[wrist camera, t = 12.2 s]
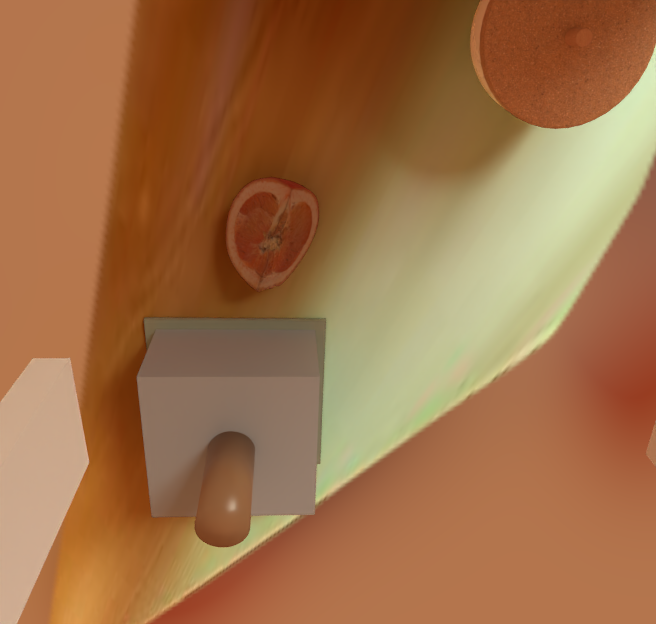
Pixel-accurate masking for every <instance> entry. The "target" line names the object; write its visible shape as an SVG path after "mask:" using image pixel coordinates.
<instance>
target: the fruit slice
mask: <svg viewBox="0 0 656 624" xmlns="http://www.w3.org/2000/svg"><path fill="white" fill-rule="evenodd" d="M318 221H319V206H318V201H317V198H316V196H315V195H314V194H313V193H312V192H311V191H310V190H308V189H307V188H305V187H303V186H302V185H300V184H297V183H295V182H293V181H289V180H285V179H280V178H274V177H269V178H260V179H256V180H253V181H252V182H250V183H249V184H247V185H246V186H244V187H243V188H242V189H241V190H240V192H239V193H238V195H237V196H236V197H235V199H234V200H233V203H232V205H231V208H230V211H229V214H228V219H227V225H226V246H227V251H228V255H229V257H230V259H231V262H232V264H233V266H234V267H235V269H236V270H237V272H238V273H239V274H240V276H241V277H242V278H243V279H244V280H245V281H246V282H247V284H249V285H250V286H251V287H252V288H254V289H255V290H256V291H257V292H259V291H262V290H266V289H268V288H269V289H271V288H273V287H274V286H280V285H281V284H282V283H283V282H284V281H285V280H286V279H287V278H288V277H289V276H290V274H291V273H292V272H293V271H294V270H295V268H296V267H297V265H298V264H299V263H300V261H301V260H302V258H303V257H304V255H305V253H306V252H307V250H308V248H309V246H310V244H311V242H312V240H313V237H314V235H315V232H316V229H317V226H318Z"/></svg>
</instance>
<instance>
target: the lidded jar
mask: <svg viewBox="0 0 656 624" xmlns="http://www.w3.org/2000/svg"><path fill="white" fill-rule="evenodd" d="M655 44H656V0H481V1H480V3H479V5H478V7H477V9H476V12H475V16H474V19H473V23H472V28H471V36H470V49H471V58H472V62H473V66H474V69H475V72H476V74H477V77H478V79H479V81H480V83H481V85H482V86H483V88H484V89H485V91H486V92H487V93H488V94H489V95H490V96H491V97H492V99H493V100H494V101H495V102H496V103H497V104H499V105H500V106H501V107H503V108H504V109H505V110H507V111H508V112H510V113H511V114H512V115H514V116H515V117H517V118H519V119H521V120H523V121H525V122H527V123H529V124H532V125H536V126H539V127H543V128H554V129H558V128H570V127H574V126H578V125H582V124H585V123H587V122H590V121H592V120H595V119H596V118H598V117H600V116H602V115H603V114H605V113H607V112H608V111H609V110H611V109H612V108H613V107H615V106H616V105H617V104H619V103H620V102H621V101H622V100H623V99H624V98H625V97H626V96H627V95H628V94H629V93H630V91H631V90H632V89H633V87H634V86H635V85H636V84H637V82H638V81H639V79H640V78H641V76H642V74H643V73H644V71H645V69H646V68H647V65H648V63H649V61H650V59H651V56H652V54H653V51H654V48H655Z"/></svg>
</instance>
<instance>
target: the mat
mask: <svg viewBox="0 0 656 624" xmlns="http://www.w3.org/2000/svg"><path fill="white" fill-rule="evenodd" d="M144 327H145V337H146V347H147V350H148V348H149V345H150V343H151V340H152V338H153V336H154V333H155V331H156V329H211V330H315V333H316V344H317V354H318V364H319V374H320V385H319V412H318V439H317V464H320V454H321V429H322V404H323V379H324V354H325V329H326V319H308V318H144Z"/></svg>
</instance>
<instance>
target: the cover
mask: <svg viewBox="0 0 656 624" xmlns="http://www.w3.org/2000/svg"><path fill="white" fill-rule="evenodd" d="M319 385H320V374H319V364H318V354H317V344H316V333H315V330H211V329H156V331H155V333H154V336H153V338H152V340H151V343H150V345H149V348H148V350H147V353H146V355H145V358H144V360H143V362H142V365H141V367H140V370H139V372H138V375H137V386H138V395H139V404H140V414H141V423H142V432H143V441H144V451H145V460H146V469H147V478H148V488H149V497H150V506H151V515H152V517H196V520H195V531H196V534H197V535H198V537H199V538H200V539H201V540H202V541H203V542H205V543H207V544H209V545H212V546H215V547H230V546H234V545H236V544H238V543H240V542H242V541H243V540H244V539H245V538H246V537H247V535H248V533H249V531H250V520H251V516H260V515H314V514H315V493H316V466H317V439H318V412H319Z"/></svg>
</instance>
